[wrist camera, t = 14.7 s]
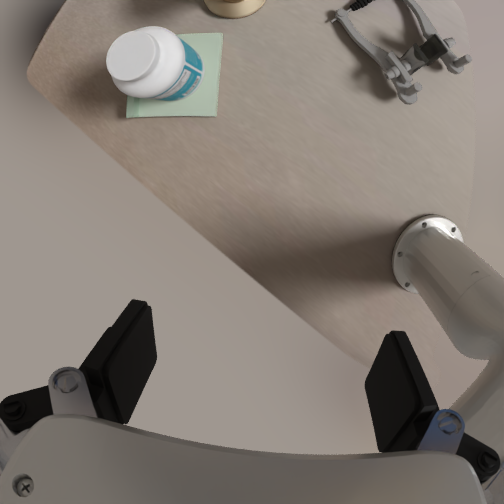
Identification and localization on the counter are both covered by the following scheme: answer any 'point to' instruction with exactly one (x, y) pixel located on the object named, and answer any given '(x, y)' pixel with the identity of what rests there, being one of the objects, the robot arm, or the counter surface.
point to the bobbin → (234, 7)
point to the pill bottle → (154, 65)
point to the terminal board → (202, 98)
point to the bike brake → (412, 58)
